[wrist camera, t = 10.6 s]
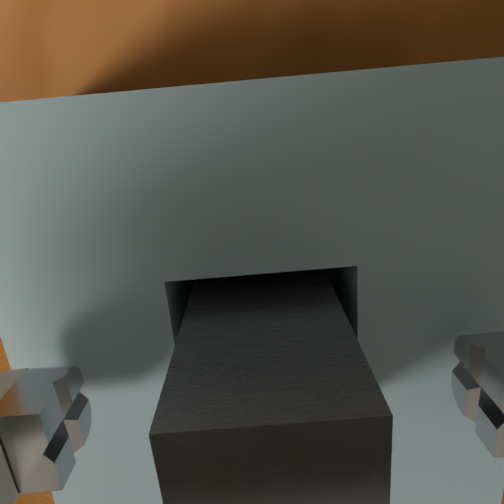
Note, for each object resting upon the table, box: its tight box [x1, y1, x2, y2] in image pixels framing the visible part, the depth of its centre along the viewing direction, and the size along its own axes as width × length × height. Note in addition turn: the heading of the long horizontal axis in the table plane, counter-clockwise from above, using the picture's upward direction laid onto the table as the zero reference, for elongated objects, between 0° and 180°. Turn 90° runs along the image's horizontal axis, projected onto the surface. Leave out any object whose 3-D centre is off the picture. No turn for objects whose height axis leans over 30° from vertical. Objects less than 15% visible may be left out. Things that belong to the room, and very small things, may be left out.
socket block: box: [0, 57, 504, 504], centre depth 13 cm, size 12×12×6 cm
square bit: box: [149, 269, 393, 504], centre depth 10 cm, size 3×3×9 cm
